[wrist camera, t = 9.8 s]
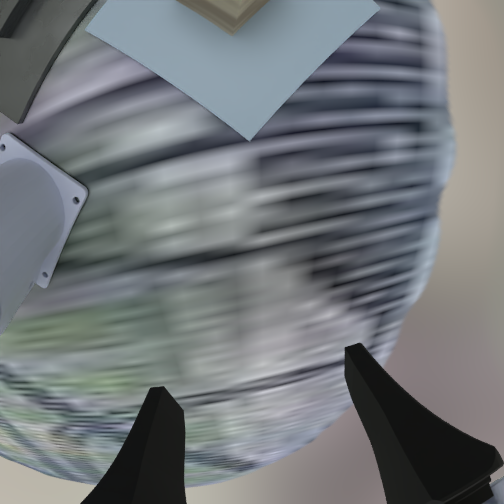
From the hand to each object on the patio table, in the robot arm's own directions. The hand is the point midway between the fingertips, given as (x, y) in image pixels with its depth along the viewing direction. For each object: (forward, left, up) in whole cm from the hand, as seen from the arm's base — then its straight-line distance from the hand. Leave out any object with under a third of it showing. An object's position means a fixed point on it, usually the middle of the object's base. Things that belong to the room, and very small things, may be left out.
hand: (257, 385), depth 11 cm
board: (+12, +10, -10) cm, 19 cm away
